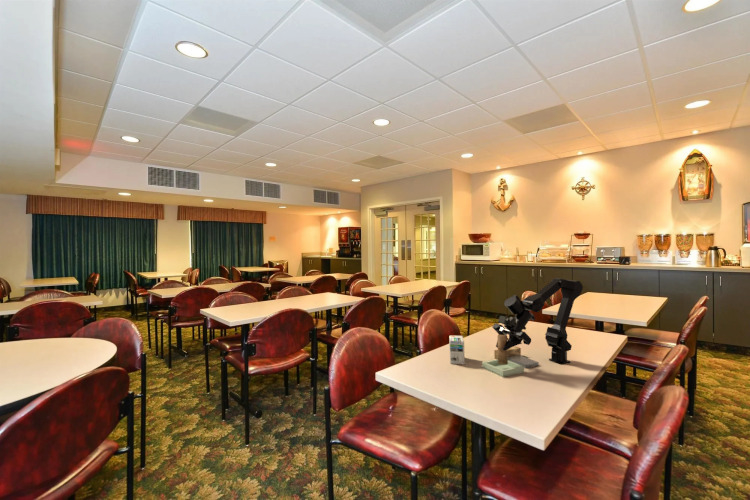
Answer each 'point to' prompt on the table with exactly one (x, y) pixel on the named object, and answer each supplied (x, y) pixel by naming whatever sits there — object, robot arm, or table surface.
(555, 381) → the table surface
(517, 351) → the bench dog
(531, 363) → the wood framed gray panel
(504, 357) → the walnut dowel
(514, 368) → the tray
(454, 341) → the light bulb box
